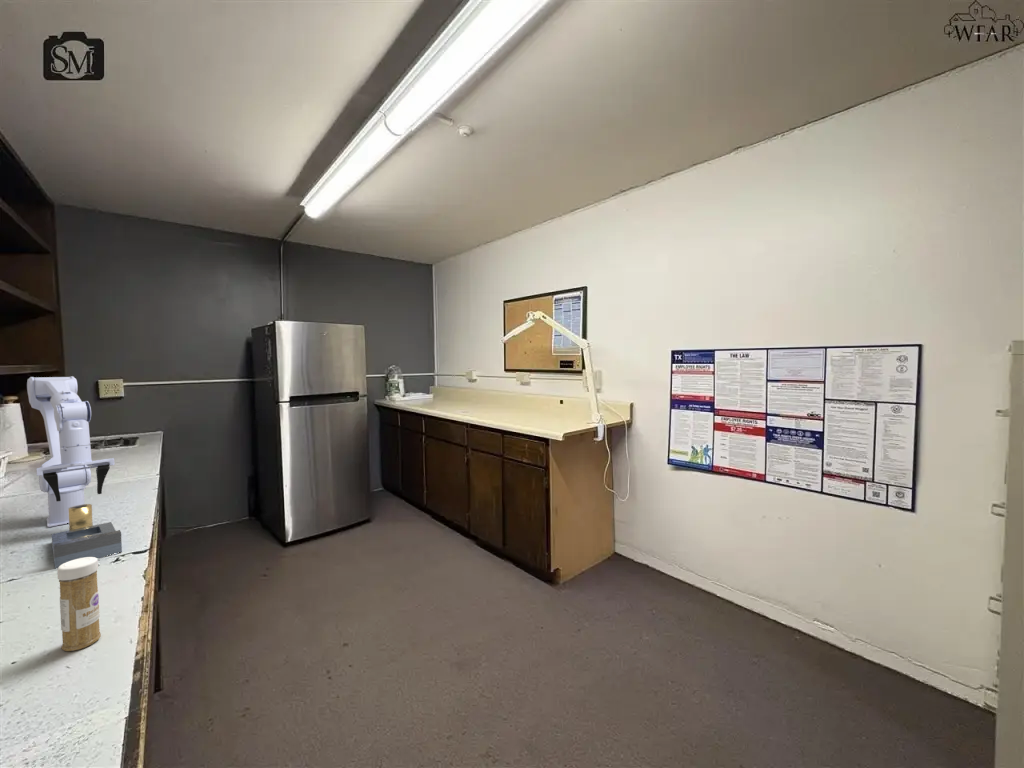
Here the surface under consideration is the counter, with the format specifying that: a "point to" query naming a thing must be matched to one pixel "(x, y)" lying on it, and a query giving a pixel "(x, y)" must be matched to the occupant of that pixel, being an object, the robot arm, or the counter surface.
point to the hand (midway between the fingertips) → (79, 497)
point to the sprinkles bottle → (79, 603)
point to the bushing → (80, 516)
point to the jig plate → (82, 535)
